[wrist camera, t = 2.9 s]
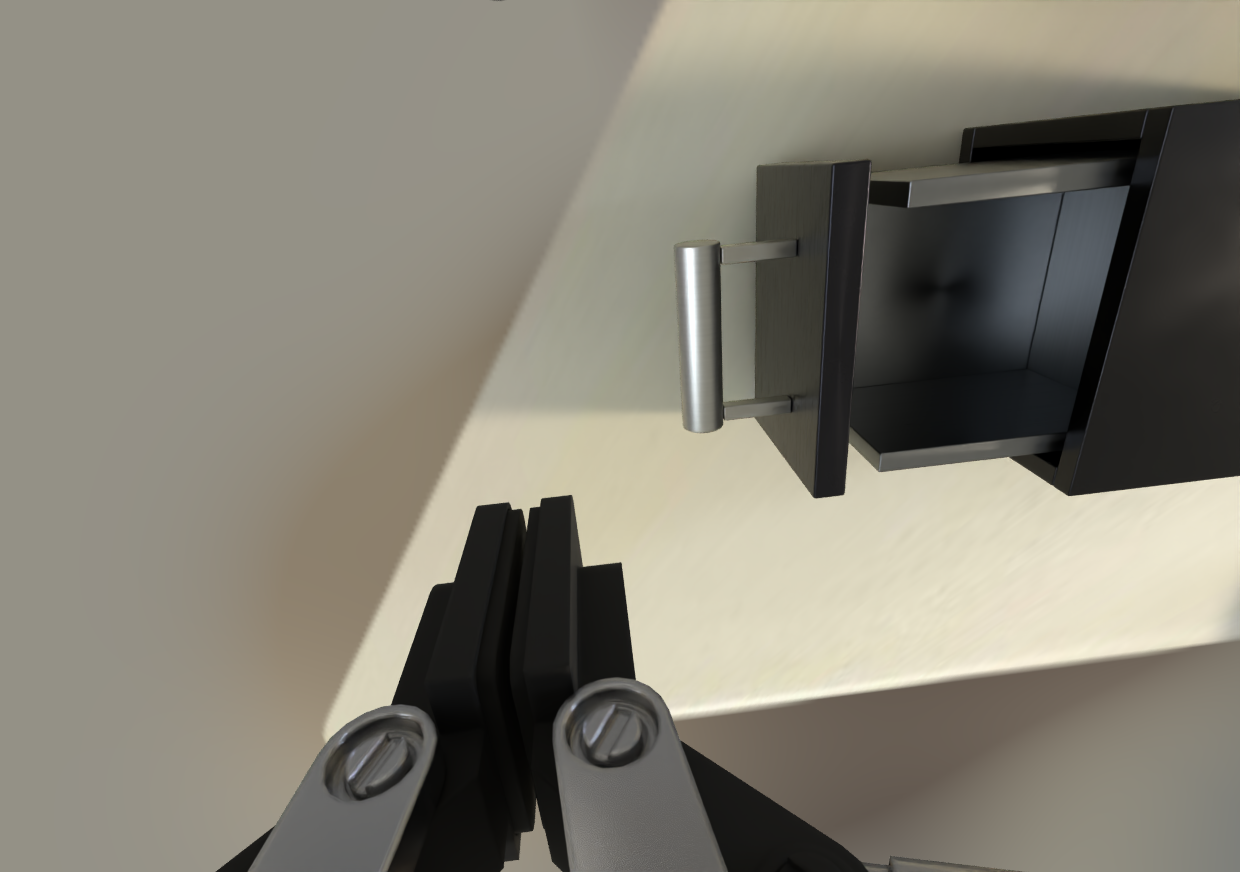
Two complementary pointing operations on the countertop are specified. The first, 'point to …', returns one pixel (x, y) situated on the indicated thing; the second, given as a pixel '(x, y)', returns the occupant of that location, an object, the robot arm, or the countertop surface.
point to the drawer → (909, 308)
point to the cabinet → (1153, 300)
